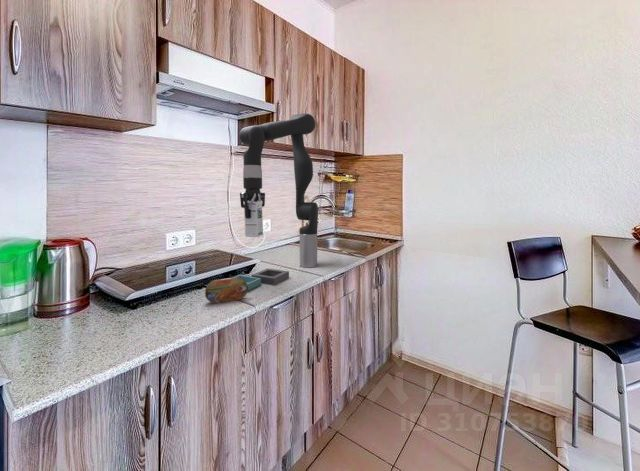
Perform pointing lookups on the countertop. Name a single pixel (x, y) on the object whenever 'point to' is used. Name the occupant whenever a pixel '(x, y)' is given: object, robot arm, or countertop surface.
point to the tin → (226, 290)
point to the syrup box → (254, 221)
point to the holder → (271, 276)
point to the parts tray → (250, 281)
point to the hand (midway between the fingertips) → (253, 217)
